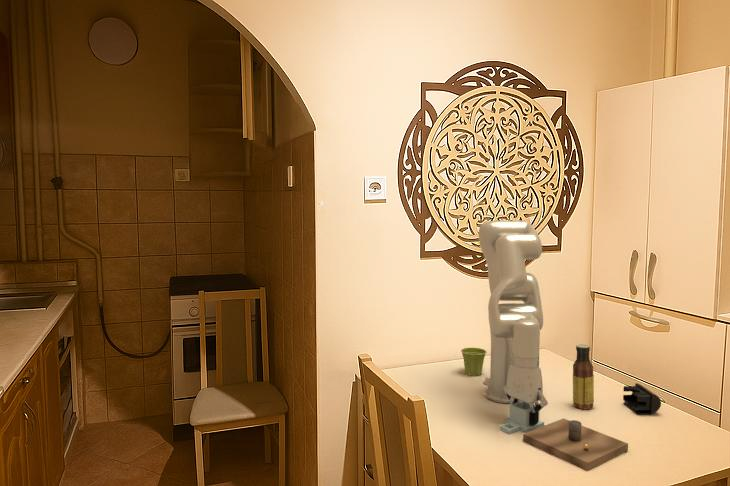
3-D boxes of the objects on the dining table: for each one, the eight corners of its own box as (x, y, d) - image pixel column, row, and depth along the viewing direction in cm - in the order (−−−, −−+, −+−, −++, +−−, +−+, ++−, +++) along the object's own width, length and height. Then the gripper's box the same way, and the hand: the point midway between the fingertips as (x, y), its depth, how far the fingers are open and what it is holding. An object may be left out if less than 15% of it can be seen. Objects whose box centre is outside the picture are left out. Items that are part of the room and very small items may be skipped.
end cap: (660, 415, 172) (661, 394, 171) (638, 416, 172) (639, 394, 171) (643, 403, 182) (644, 382, 181) (622, 403, 182) (623, 383, 181)
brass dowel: (582, 449, 146) (582, 444, 145) (585, 448, 146) (585, 442, 146) (586, 451, 145) (586, 445, 145) (589, 450, 145) (589, 444, 145)
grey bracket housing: (522, 416, 172) (522, 398, 171) (544, 425, 165) (544, 406, 164) (494, 426, 164) (494, 408, 164) (515, 436, 158) (516, 417, 157)
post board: (523, 440, 155) (523, 418, 155) (563, 424, 165) (563, 403, 165) (587, 470, 139) (588, 445, 138) (627, 450, 149) (628, 427, 148)
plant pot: (460, 368, 217) (460, 346, 216) (485, 369, 215) (485, 347, 214) (461, 376, 207) (461, 354, 207) (487, 377, 206) (487, 355, 205)
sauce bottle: (593, 403, 181) (595, 344, 179) (594, 411, 175) (596, 349, 173) (571, 401, 183) (573, 342, 181) (571, 408, 177) (573, 347, 175)
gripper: (494, 356, 169) (493, 413, 171) (541, 371, 155) (540, 434, 157) (511, 351, 173) (509, 408, 175) (558, 366, 159) (556, 427, 161)
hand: (524, 419), depth 166 cm, fingers closed on grey bracket housing, 6 cm apart
